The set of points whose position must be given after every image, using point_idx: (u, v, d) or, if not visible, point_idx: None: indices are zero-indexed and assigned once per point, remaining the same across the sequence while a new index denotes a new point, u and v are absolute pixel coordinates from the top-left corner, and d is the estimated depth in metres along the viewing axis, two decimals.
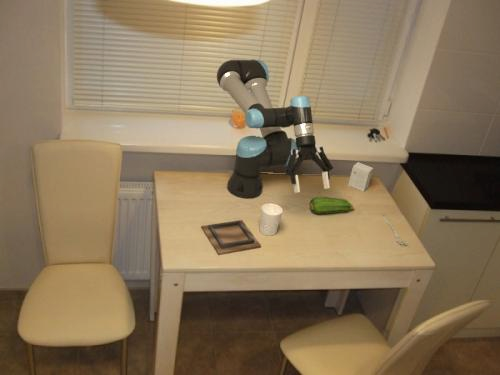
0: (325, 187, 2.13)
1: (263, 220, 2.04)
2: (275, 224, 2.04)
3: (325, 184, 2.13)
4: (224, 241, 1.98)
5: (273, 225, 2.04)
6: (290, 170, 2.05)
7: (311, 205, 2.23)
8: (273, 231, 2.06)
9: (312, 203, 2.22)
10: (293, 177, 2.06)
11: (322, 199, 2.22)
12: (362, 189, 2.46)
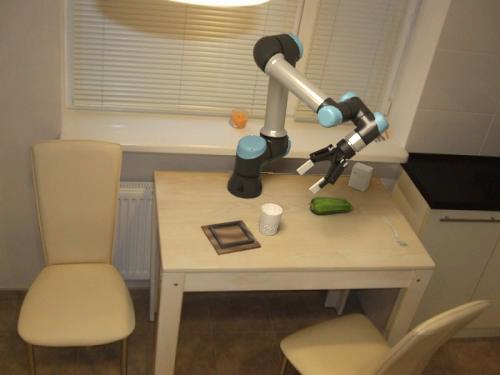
0: (299, 172, 2.06)
1: (263, 220, 2.04)
2: (275, 224, 2.04)
3: (302, 170, 2.06)
4: (224, 241, 1.98)
5: (273, 225, 2.04)
6: None
7: (312, 205, 2.22)
8: (273, 231, 2.06)
9: (313, 203, 2.22)
10: None
11: (323, 199, 2.22)
12: (362, 189, 2.46)
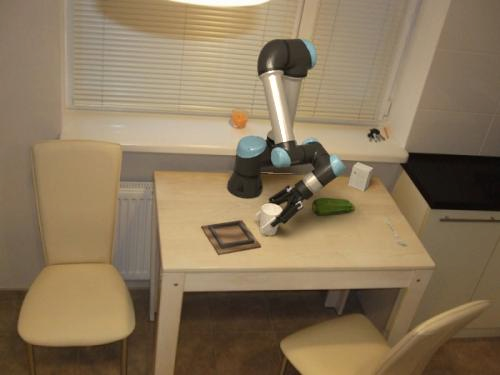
0: (258, 216, 2.09)
1: (263, 220, 2.04)
2: None
3: None
4: (224, 241, 1.98)
5: None
6: None
7: (314, 207, 2.22)
8: (273, 231, 2.06)
9: (315, 205, 2.21)
10: None
11: (325, 200, 2.21)
12: (362, 189, 2.46)
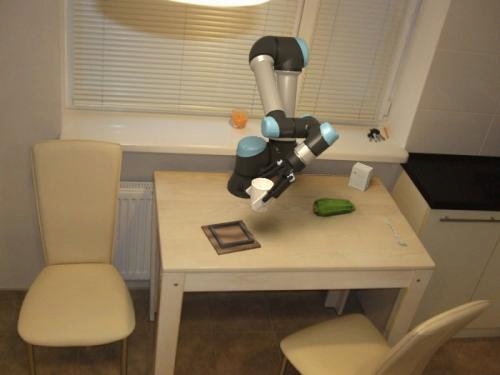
0: (248, 192, 1.97)
1: (254, 196, 1.92)
2: None
3: None
4: (224, 241, 1.98)
5: None
6: None
7: (315, 207, 2.22)
8: (265, 207, 1.94)
9: (316, 205, 2.21)
10: None
11: (326, 201, 2.21)
12: (362, 189, 2.46)
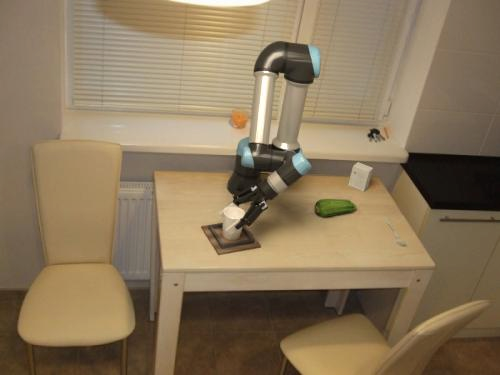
0: (222, 214, 2.01)
1: (225, 224, 1.96)
2: None
3: None
4: (224, 241, 1.98)
5: None
6: None
7: (317, 208, 2.21)
8: (236, 235, 1.99)
9: (318, 206, 2.21)
10: None
11: (328, 201, 2.21)
12: (362, 189, 2.46)
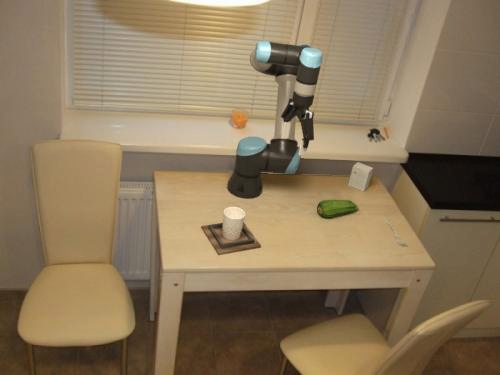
0: (284, 137, 2.08)
1: (225, 224, 1.96)
2: (238, 228, 1.97)
3: (285, 134, 2.07)
4: (224, 241, 1.98)
5: (236, 229, 1.96)
6: None
7: (319, 209, 2.21)
8: (236, 235, 1.99)
9: (321, 207, 2.20)
10: None
11: (330, 202, 2.21)
12: (362, 189, 2.46)
